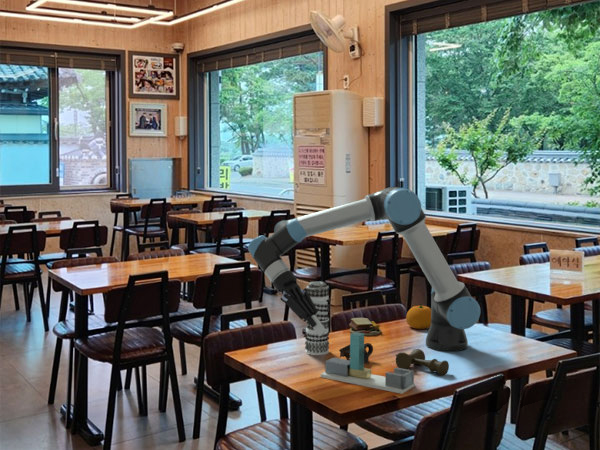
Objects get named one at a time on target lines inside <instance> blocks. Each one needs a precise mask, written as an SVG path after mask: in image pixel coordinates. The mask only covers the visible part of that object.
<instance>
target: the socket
mask: <svg viewBox="0 0 600 450" xmlns="http://www.w3.org/2000/svg"><path fill="white" fill-rule="evenodd" d="M385 377H386V380H385V386H388V387H393V388H398V389H403V390H404V389H405V388H407V387H409V386H410V385H412V384H414V383H415V371H414V370H413V369H412V370H411V369H408V370H407V369H402V368H398V367H397V366H396V367H395V368H393V372H390V371H387V372H385Z"/></svg>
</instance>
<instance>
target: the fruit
mask: <svg viewBox="0 0 600 450" xmlns="http://www.w3.org/2000/svg"><path fill="white" fill-rule="evenodd" d="M405 316H406V317H405V320H406V324H407V325H408V326H409V327H410V328H413V329H416V330H427V329H428V330H429V328H430V326H431V307H429V306H426V305H423V303H420V305H414V306H412V307H410V309H408V311H407V313H406V315H405Z"/></svg>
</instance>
